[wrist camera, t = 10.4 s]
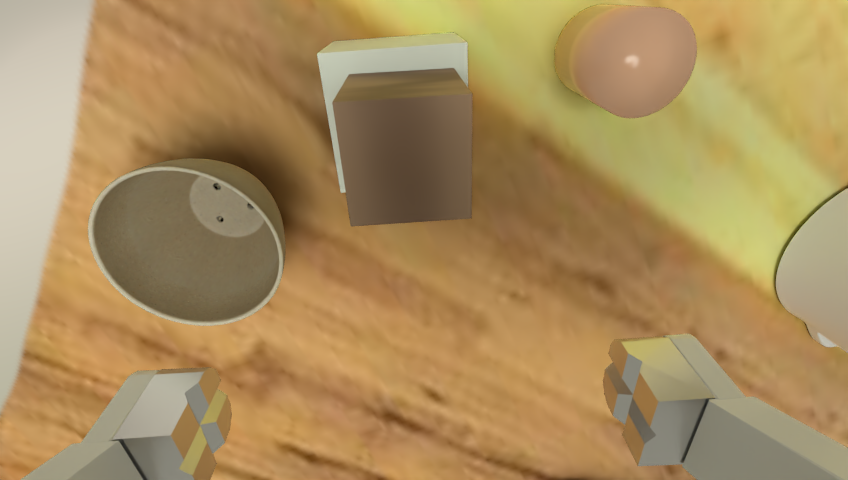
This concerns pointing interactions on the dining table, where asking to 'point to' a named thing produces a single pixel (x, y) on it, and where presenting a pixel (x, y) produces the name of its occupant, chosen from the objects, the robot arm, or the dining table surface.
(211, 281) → the flower pot
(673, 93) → the terracotta cylinder
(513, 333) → the dining table surface
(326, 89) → the grey block
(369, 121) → the walnut block
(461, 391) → the dining table surface
